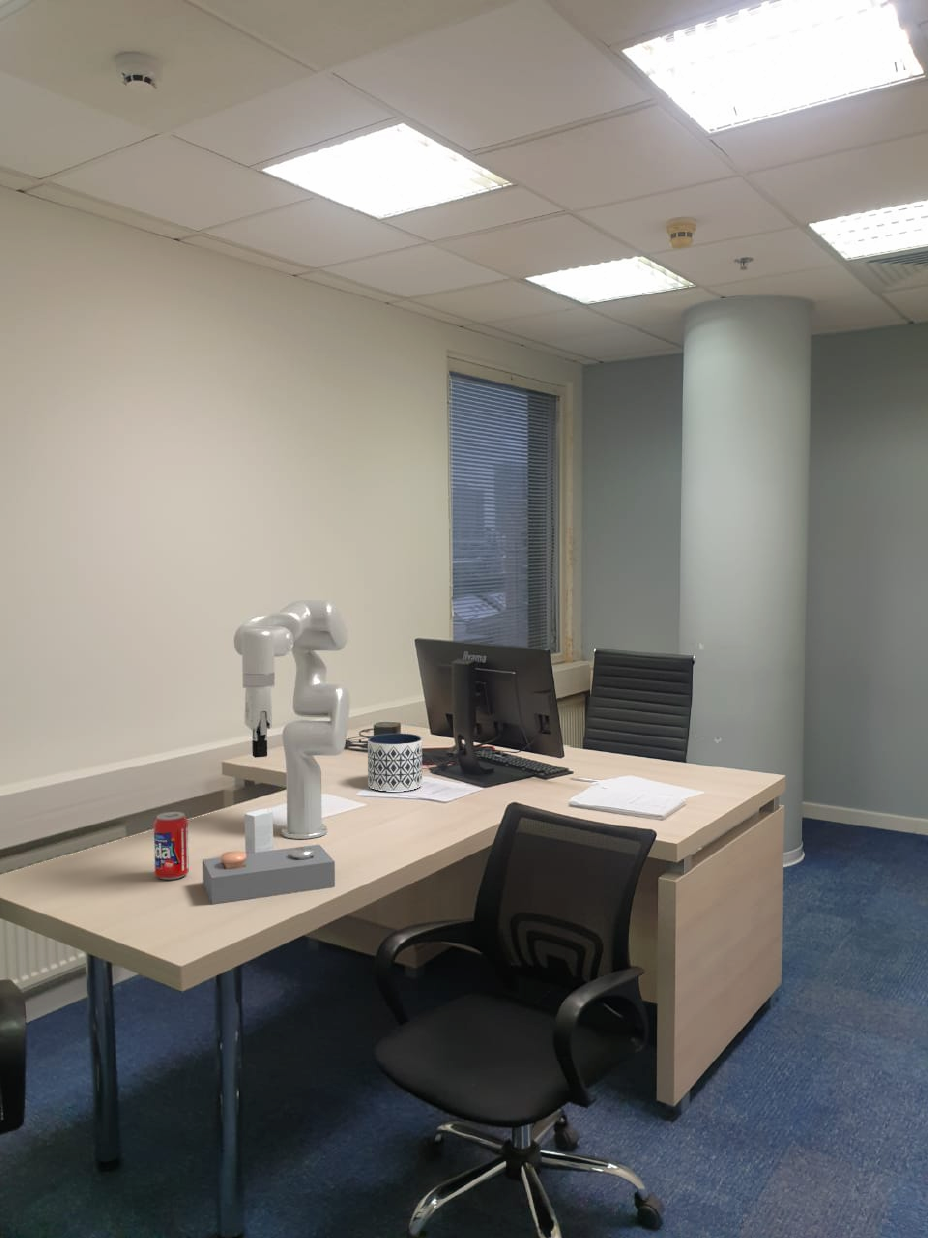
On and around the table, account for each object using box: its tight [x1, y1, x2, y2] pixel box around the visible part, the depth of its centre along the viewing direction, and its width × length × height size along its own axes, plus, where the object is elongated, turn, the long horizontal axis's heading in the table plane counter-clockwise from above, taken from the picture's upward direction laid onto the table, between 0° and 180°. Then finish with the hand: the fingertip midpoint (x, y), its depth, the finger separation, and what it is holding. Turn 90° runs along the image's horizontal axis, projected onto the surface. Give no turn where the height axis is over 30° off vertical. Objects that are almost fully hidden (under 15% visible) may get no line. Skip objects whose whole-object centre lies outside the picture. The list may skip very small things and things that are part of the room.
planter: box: [367, 733, 423, 791], centre depth 313 cm, size 18×18×16 cm
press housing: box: [202, 844, 336, 906], centre depth 218 cm, size 14×28×6 cm, turn 114°
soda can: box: [153, 811, 190, 881], centre depth 224 cm, size 8×8×15 cm
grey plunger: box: [290, 846, 314, 860], centre depth 221 cm, size 6×6×6 cm
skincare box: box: [243, 808, 275, 854], centre depth 238 cm, size 6×4×12 cm
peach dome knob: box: [220, 850, 246, 869], centre depth 215 cm, size 6×6×6 cm
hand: (259, 756), depth 224 cm, fingers closed
